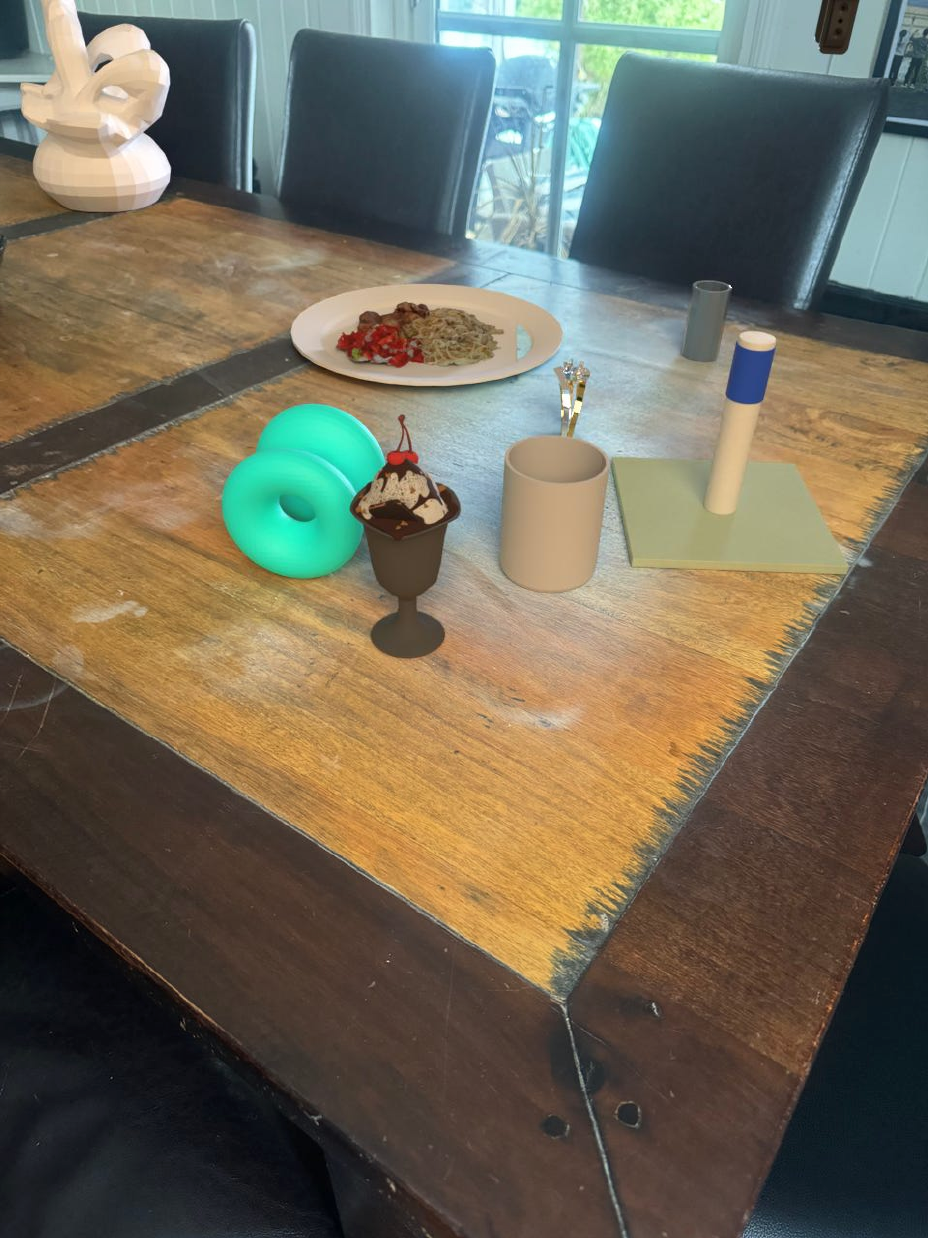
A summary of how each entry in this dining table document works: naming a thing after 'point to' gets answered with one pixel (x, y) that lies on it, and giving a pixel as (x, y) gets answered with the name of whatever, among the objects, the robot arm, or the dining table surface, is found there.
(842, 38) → the robot arm
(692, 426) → the dining table surface
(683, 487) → the mat
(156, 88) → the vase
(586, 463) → the cup
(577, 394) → the ring
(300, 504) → the donuts
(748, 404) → the marker
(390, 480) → the sundae
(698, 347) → the grey hollow cylinder
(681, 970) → the dining table surface
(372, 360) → the plated food
